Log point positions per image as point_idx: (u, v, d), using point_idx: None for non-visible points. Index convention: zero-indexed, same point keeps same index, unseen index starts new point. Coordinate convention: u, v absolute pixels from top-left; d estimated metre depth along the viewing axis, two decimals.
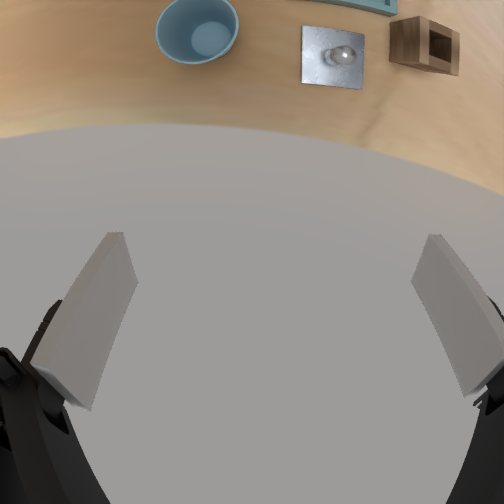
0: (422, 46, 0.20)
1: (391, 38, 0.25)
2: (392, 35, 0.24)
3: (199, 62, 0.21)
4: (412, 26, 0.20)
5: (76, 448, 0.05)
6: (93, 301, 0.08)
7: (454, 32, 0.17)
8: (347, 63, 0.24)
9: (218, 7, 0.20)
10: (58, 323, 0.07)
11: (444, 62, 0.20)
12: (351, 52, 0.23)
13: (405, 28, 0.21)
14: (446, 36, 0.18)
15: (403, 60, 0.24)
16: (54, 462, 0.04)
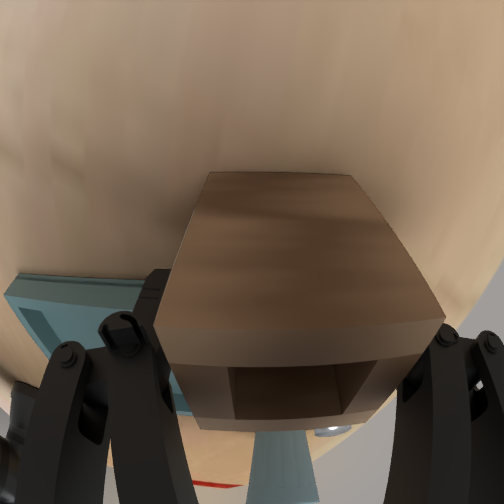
0: (312, 426, 0.08)
1: None
2: None
3: None
4: None
5: (176, 428, 0.06)
6: None
7: (170, 350, 0.05)
8: (348, 428, 0.15)
9: None
10: None
11: (372, 380, 0.06)
12: (328, 429, 0.15)
13: None
14: (227, 372, 0.06)
15: None
16: (165, 447, 0.05)
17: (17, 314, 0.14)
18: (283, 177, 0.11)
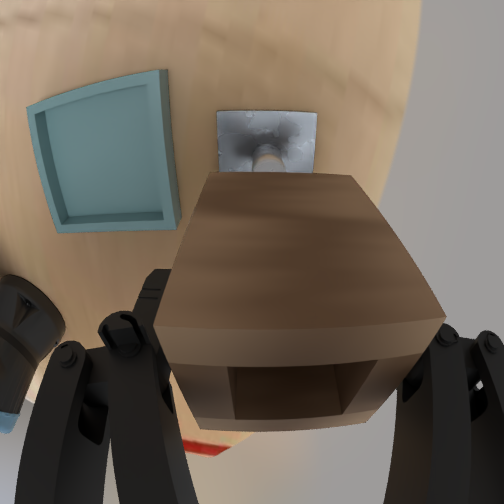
0: (313, 426, 0.08)
1: None
2: None
3: None
4: None
5: (176, 429, 0.06)
6: None
7: (170, 350, 0.05)
8: None
9: None
10: None
11: (372, 380, 0.06)
12: (263, 171, 0.18)
13: None
14: (227, 372, 0.06)
15: None
16: (165, 447, 0.05)
17: (30, 124, 0.18)
18: (283, 177, 0.11)
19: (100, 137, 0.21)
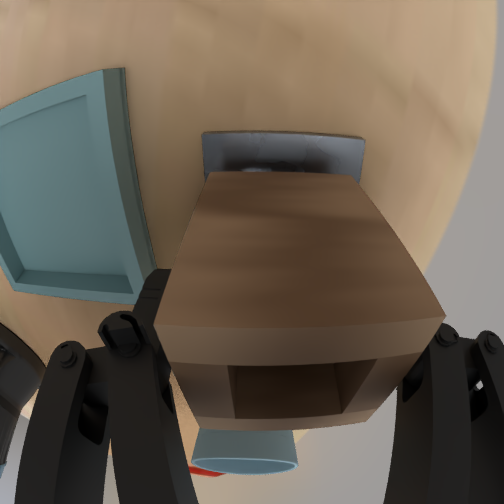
0: (313, 425, 0.08)
1: None
2: None
3: (296, 466, 0.16)
4: None
5: (177, 429, 0.06)
6: None
7: (171, 348, 0.05)
8: None
9: None
10: None
11: (372, 379, 0.06)
12: None
13: None
14: (227, 371, 0.06)
15: None
16: (165, 447, 0.05)
17: None
18: (283, 176, 0.11)
19: (41, 174, 0.13)
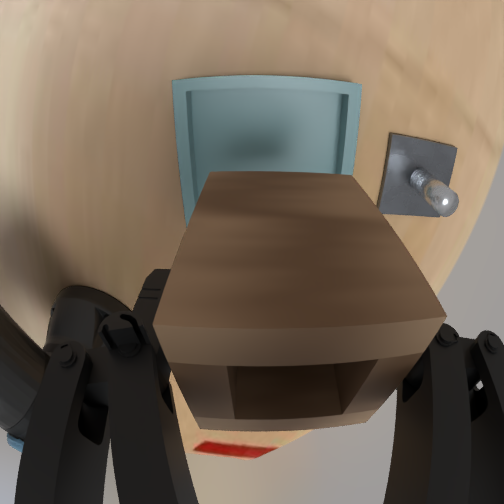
0: (313, 426, 0.08)
1: None
2: None
3: None
4: None
5: (177, 429, 0.06)
6: None
7: (170, 349, 0.05)
8: (456, 203, 0.19)
9: None
10: None
11: (372, 380, 0.06)
12: (446, 197, 0.19)
13: None
14: None
15: None
16: (165, 447, 0.05)
17: (176, 103, 0.18)
18: (283, 176, 0.11)
19: (270, 135, 0.22)
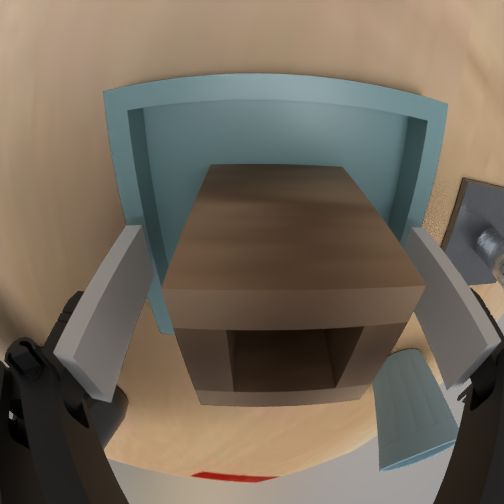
0: (308, 400, 0.09)
1: None
2: None
3: None
4: None
5: (95, 442, 0.06)
6: (116, 292, 0.09)
7: (175, 313, 0.06)
8: None
9: None
10: (82, 312, 0.07)
11: (361, 349, 0.07)
12: None
13: None
14: None
15: None
16: (74, 457, 0.04)
17: (113, 133, 0.10)
18: (279, 168, 0.12)
19: None
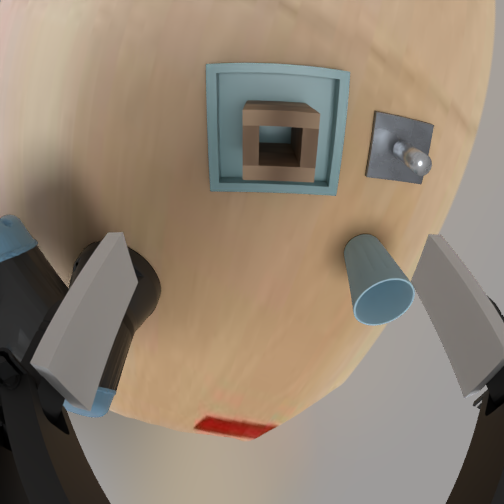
0: (289, 177, 0.23)
1: None
2: None
3: (412, 300, 0.29)
4: None
5: (76, 448, 0.05)
6: (94, 301, 0.08)
7: (244, 119, 0.20)
8: (430, 165, 0.24)
9: None
10: (58, 323, 0.07)
11: (304, 140, 0.21)
12: (420, 159, 0.24)
13: None
14: (258, 133, 0.21)
15: None
16: (54, 462, 0.04)
17: (208, 81, 0.24)
18: (276, 101, 0.26)
19: None
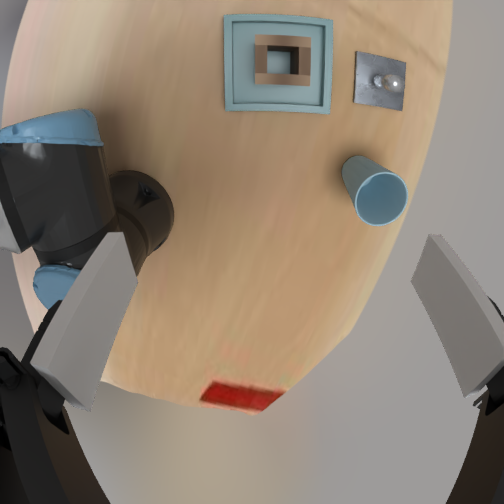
0: (291, 82, 0.26)
1: None
2: None
3: (406, 200, 0.33)
4: None
5: (76, 448, 0.05)
6: (93, 302, 0.08)
7: (256, 40, 0.24)
8: (403, 84, 0.27)
9: None
10: (58, 323, 0.07)
11: (301, 55, 0.24)
12: (394, 79, 0.27)
13: None
14: (266, 50, 0.24)
15: None
16: (54, 462, 0.04)
17: (225, 26, 0.27)
18: None
19: None
